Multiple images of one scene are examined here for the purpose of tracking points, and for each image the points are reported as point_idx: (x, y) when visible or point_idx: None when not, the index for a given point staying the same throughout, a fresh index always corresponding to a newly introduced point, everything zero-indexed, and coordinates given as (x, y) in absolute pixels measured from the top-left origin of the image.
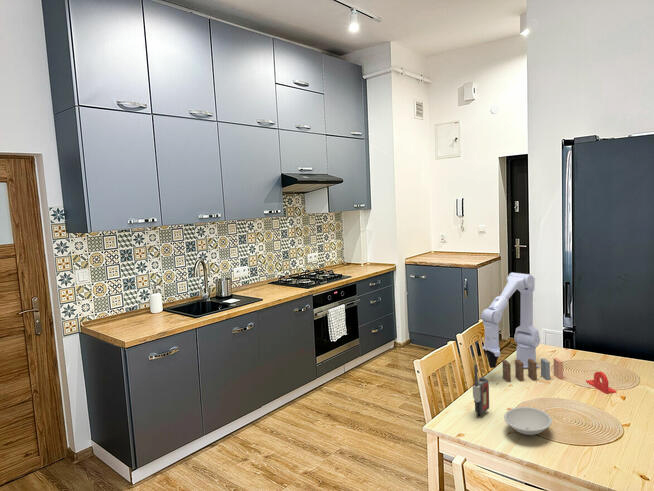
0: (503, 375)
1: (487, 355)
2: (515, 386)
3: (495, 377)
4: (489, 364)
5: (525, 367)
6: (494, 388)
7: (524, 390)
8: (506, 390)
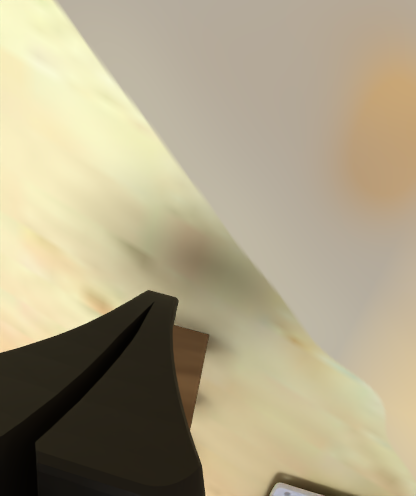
0: (194, 345)
1: (14, 382)
2: (82, 320)
3: (230, 303)
4: (143, 303)
5: (271, 493)
6: (70, 199)
7: (31, 326)
8: (37, 248)
